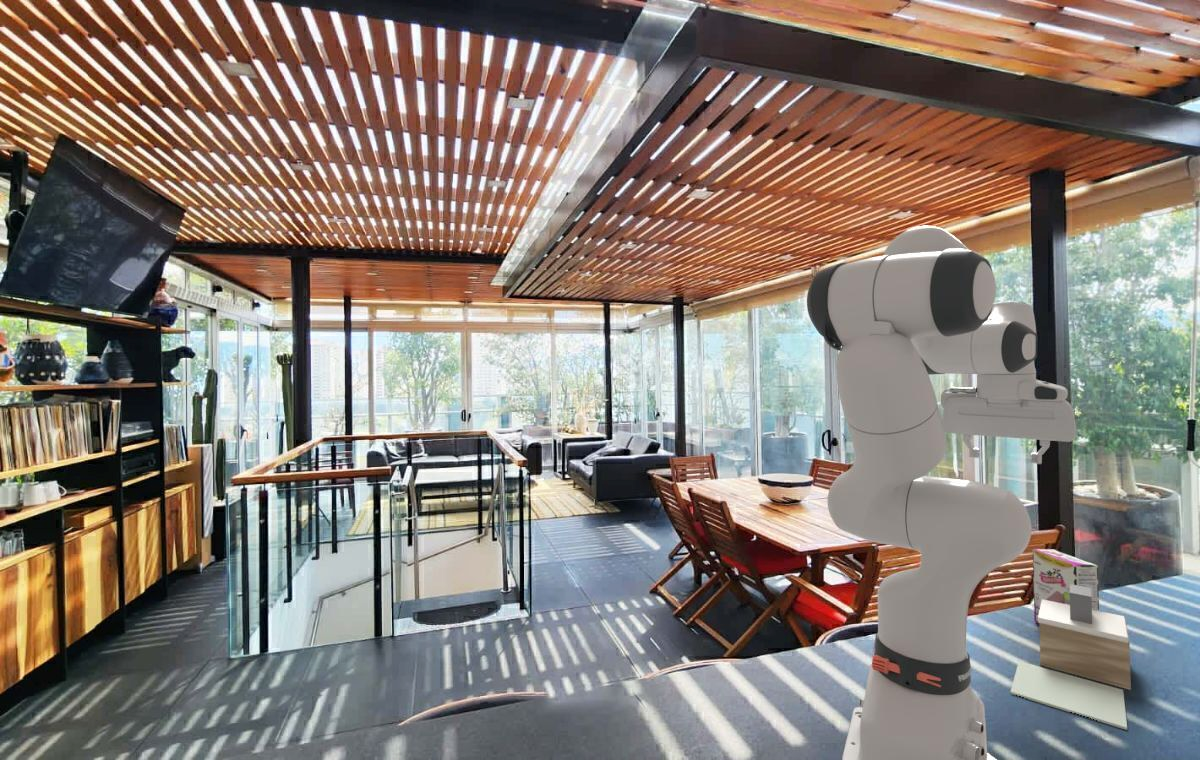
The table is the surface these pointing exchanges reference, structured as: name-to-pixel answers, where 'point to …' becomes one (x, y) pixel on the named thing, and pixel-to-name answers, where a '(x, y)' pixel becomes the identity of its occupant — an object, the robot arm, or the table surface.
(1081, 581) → the candy bar box
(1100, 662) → the box
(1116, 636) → the lid
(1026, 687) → the mat
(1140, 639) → the table surface
